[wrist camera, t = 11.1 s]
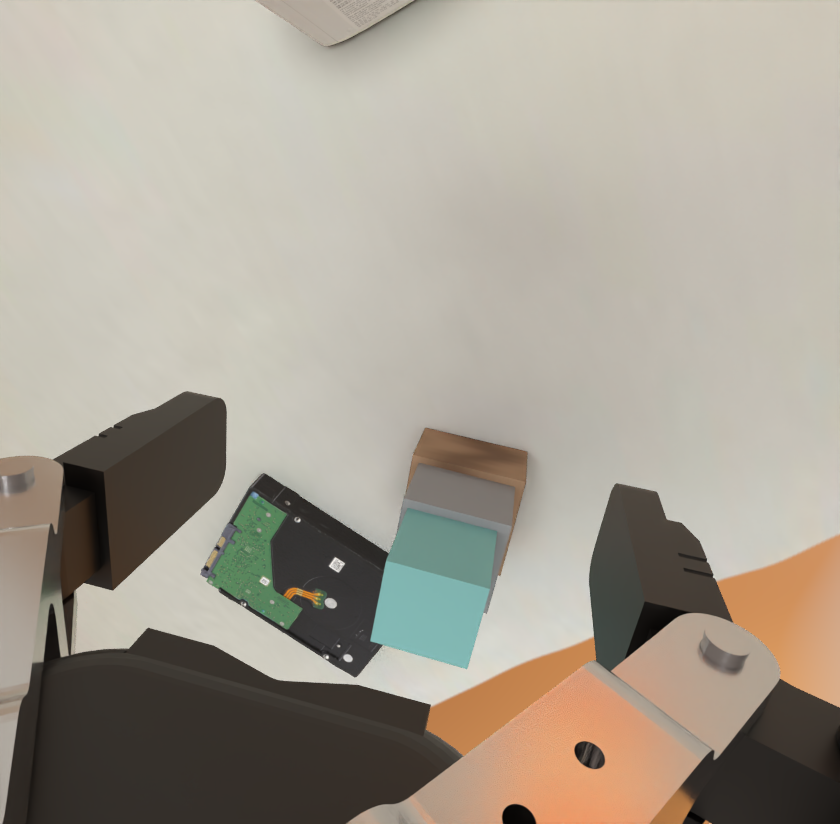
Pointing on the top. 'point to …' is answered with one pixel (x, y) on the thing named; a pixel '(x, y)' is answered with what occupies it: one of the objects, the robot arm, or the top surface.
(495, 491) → the slate block
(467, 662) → the teal block
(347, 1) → the photo printer
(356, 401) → the top surface
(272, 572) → the disk drive
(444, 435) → the walnut base
